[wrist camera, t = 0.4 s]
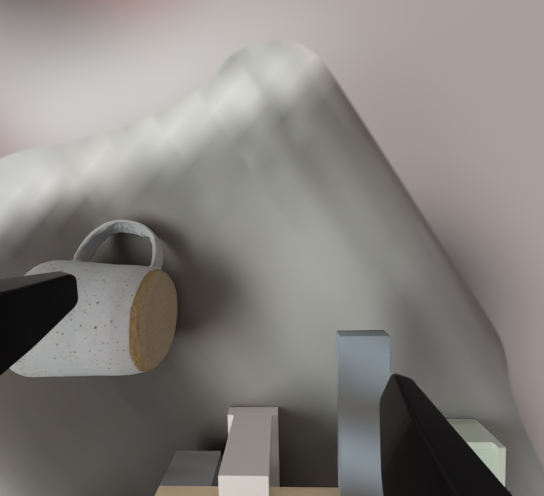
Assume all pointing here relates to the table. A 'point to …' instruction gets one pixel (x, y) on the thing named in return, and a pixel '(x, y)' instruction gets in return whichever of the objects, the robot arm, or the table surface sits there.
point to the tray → (483, 445)
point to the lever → (351, 428)
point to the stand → (250, 452)
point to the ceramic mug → (108, 314)
